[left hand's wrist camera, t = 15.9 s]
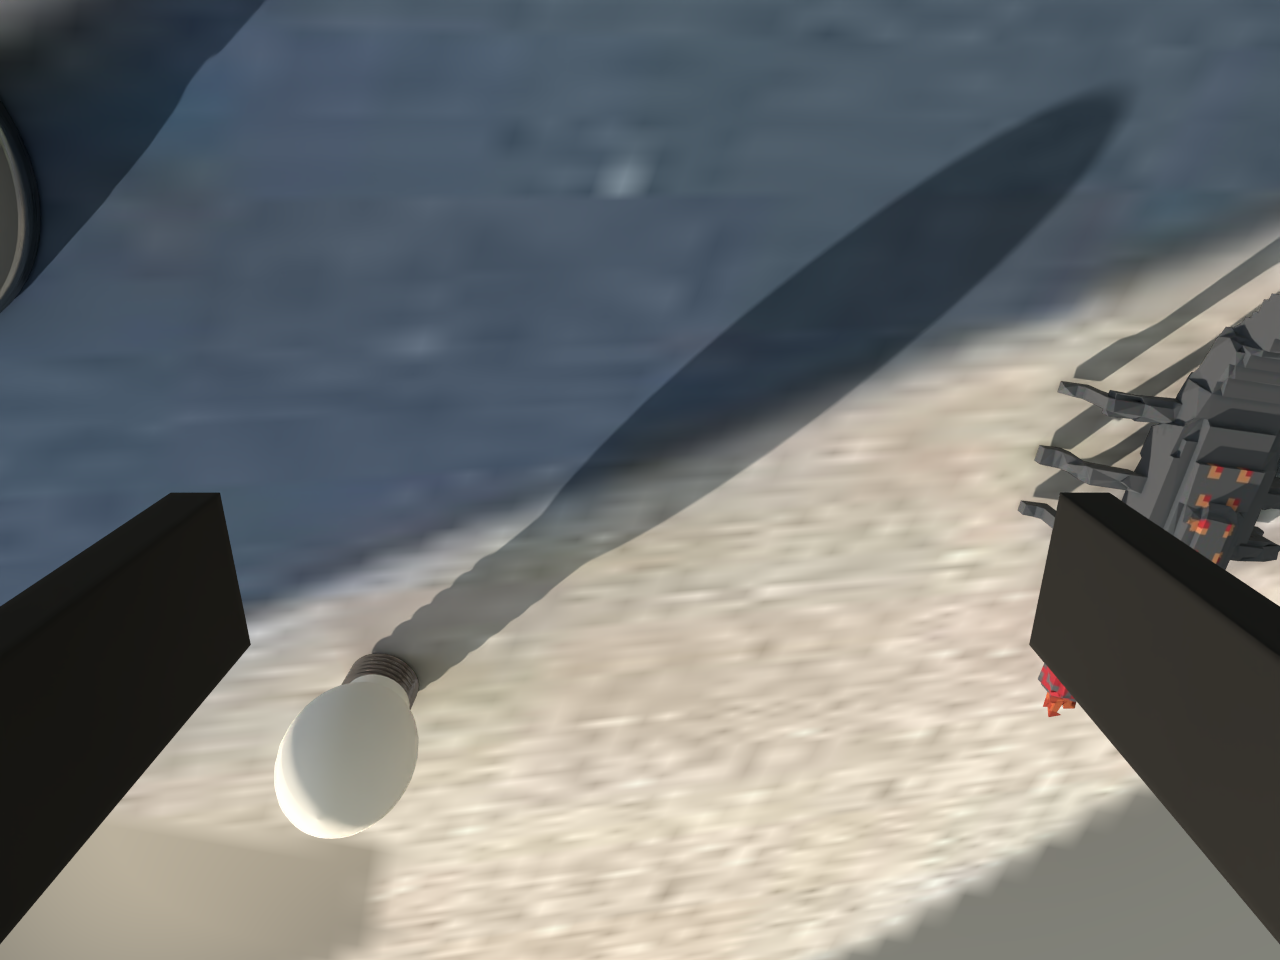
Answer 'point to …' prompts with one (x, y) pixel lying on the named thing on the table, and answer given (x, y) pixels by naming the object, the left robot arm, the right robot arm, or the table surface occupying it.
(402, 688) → the light bulb
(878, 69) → the table surface
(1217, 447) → the toy
